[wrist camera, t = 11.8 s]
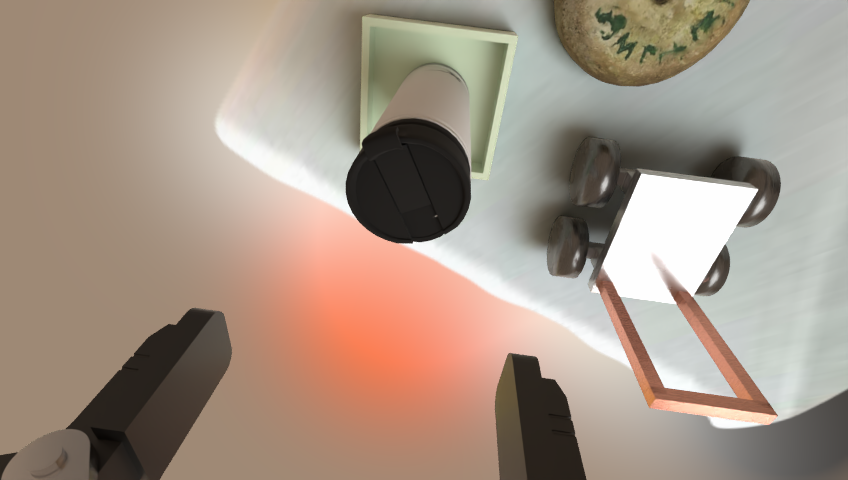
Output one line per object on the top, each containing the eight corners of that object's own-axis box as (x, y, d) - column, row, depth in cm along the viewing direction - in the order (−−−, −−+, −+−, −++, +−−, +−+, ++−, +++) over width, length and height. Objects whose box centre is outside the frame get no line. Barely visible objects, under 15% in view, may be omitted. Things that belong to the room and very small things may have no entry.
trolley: (584, 128, 37) (680, 247, 20) (749, 149, 37) (982, 287, 20) (543, 253, 45) (589, 413, 28) (680, 271, 44) (807, 444, 28)
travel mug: (455, 46, 34) (444, 110, 17) (478, 121, 37) (488, 238, 20) (387, 73, 35) (314, 156, 18) (414, 143, 38) (374, 268, 22)
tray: (369, 13, 33) (362, 16, 31) (514, 31, 33) (518, 36, 31) (366, 151, 40) (359, 163, 37) (486, 167, 40) (488, 180, 37)
